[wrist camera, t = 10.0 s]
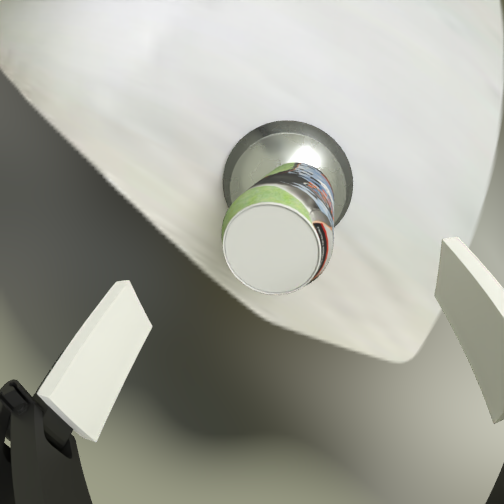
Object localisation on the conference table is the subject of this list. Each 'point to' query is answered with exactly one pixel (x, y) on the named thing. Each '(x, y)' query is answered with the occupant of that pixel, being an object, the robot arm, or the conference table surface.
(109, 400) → the robot arm
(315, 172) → the beverage can
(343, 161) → the bowl
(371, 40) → the conference table surface
